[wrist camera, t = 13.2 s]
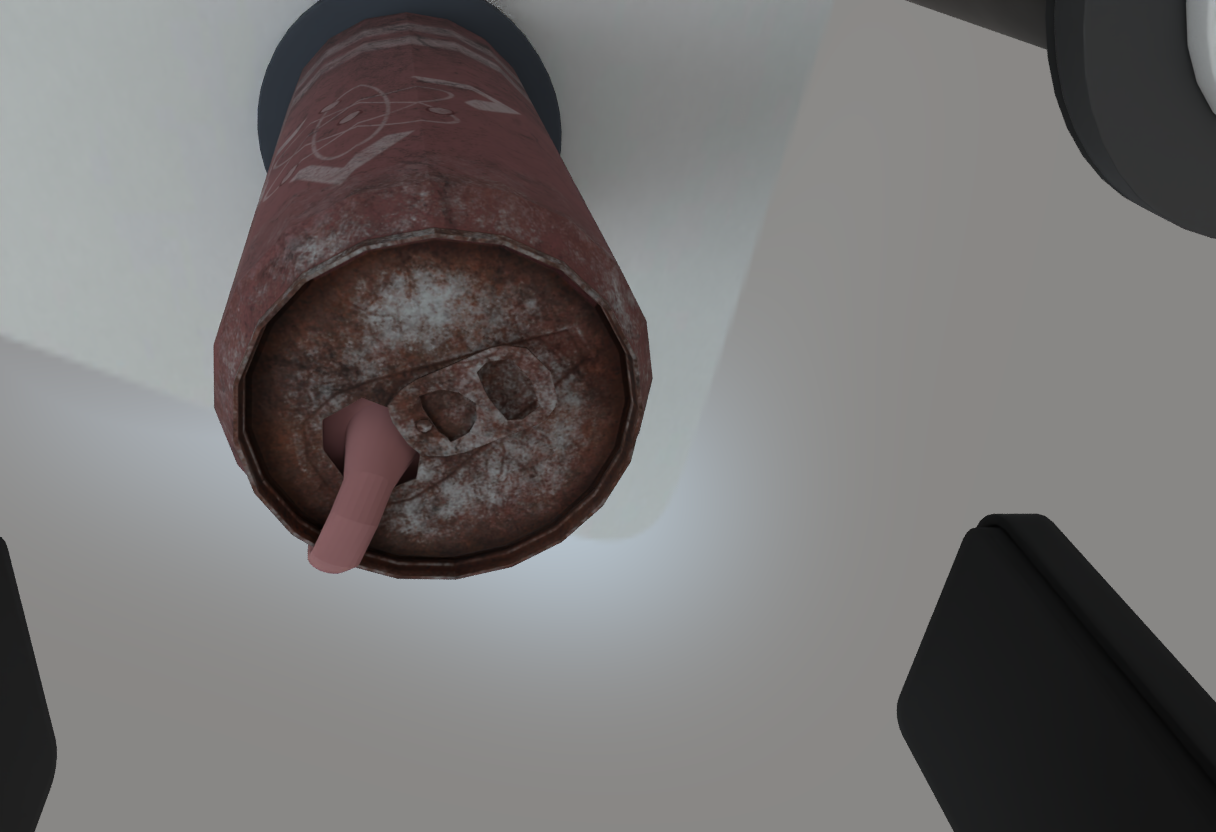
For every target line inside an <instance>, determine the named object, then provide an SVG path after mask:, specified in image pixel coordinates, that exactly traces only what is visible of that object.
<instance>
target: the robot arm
mask: <svg viewBox="0 0 1216 832" xmlns="http://www.w3.org/2000/svg"><path fill="white" fill-rule="evenodd" d="M1186 17H1187V42H1188V49H1189V53H1190V57H1191V61H1192V65H1193V69H1194V73H1195V77H1196V81H1197V84H1198V86H1199V87H1200V89H1201V91H1202V93H1203V95H1204V97H1205V99H1206V100H1207V102H1208V104H1209V106H1210V108H1211V110H1212V112H1213V113H1214V114H1215V115H1216V0H1186ZM897 719H898V724H899V728H900V730H901V733H902V735H903V737H904V739H905V741H906V743H907V745H908V746H909V748H910V750H911V752H912V754H913V756H914V758H915V760H916V761H917V763H918V765H919V767H920V769H921V771H922V773H923V774H924V776H925V778H926V780H927V782H928V784H929V786H930V788H931V790H932V791H933V793H934V795H935V797H936V799H937V801H938V803H939V804H940V806H941V808H942V810H943V812H944V814H945V816H946V818H947V819H948V822H949V823H950V825H951V827H952V829H953V831H954V832H1216V702H1215V701H1214V700H1213V699H1212V698H1211V697H1210V695H1209V694H1208V693H1207V692H1206V691H1205V690H1204V689H1203V688H1202V687H1201V686H1200V685H1199V683H1198V682H1197V681H1196V680H1195V679H1194V678H1193V677H1192V676H1191V674H1190V673H1188V671H1187V670H1186V669H1185V668H1184V667H1183V666H1182V665H1181V663H1180V662H1179V661H1178V660H1177V659H1176V658H1175V657H1174V656H1173V655H1172V653H1171V652H1170V651H1169V650H1168V649H1167V648H1166V647H1165V646H1164V645H1163V644H1162V642H1161V641H1160V640H1159V639H1158V638H1157V637H1156V636H1155V635H1154V634H1153V633H1152V632H1151V630H1150V629H1149V628H1148V627H1147V626H1146V625H1145V624H1144V623H1143V621H1142V620H1141V619H1140V618H1139V617H1138V616H1137V615H1136V614H1135V613H1134V612H1133V610H1132V609H1131V608H1130V607H1129V606H1128V605H1127V604H1126V603H1125V601H1124V600H1123V599H1122V598H1121V597H1120V596H1119V595H1118V594H1117V593H1116V592H1115V591H1114V589H1113V588H1112V587H1111V586H1110V585H1109V584H1108V583H1107V582H1106V580H1105V579H1103V577H1102V576H1101V575H1100V574H1099V573H1098V572H1097V571H1096V569H1094V567H1093V566H1092V565H1091V564H1090V563H1089V562H1088V561H1087V560H1086V558H1085V557H1084V556H1083V555H1082V554H1081V553H1080V552H1079V551H1078V550H1077V548H1076V547H1075V546H1074V545H1073V544H1072V543H1071V542H1070V541H1069V540H1068V538H1067V537H1066V536H1065V535H1064V534H1063V533H1062V532H1061V531H1060V530H1059V529H1058V527H1057V526H1056V525H1055V524H1054V523H1053V522H1052V521H1050V519H1048V518H1047V517H1046V516H1043V515H1039V514H991V515H987V516H985V517H984V518H983V519H982V520H981V521H980V522H979V524H978V526H977V527H976V528H972V529H970V530H969V531H968V532H967V534H966V535H965V537H964V538H963V541H962V543H961V546H960V548H959V551H958V553H957V556H956V558H955V561H954V563H953V565H952V568H951V571H950V573H949V576H948V578H947V580H946V583H945V585H944V588H943V590H942V593H941V595H940V598H939V600H938V602H937V605H936V607H935V610H934V612H933V615H932V617H931V620H930V622H929V625H928V627H927V629H926V632H925V634H924V637H923V639H922V642H921V644H920V647H919V649H918V652H917V654H916V657H915V659H914V662H913V664H912V666H911V669H910V671H909V674H908V676H907V679H906V681H905V684H904V686H903V689H902V691H901V694H900V696H899V699H898V703H897ZM56 760H57V746H56V740H55V736H54V731H53V727H52V723H51V720H50V716H49V712H48V708H47V704H46V699H45V695H44V692H43V688H42V683H41V680H40V675H39V671H38V668H37V664H36V659H35V655H34V651H33V647H32V643H31V640H30V635H29V631H28V627H27V623H26V619H25V615H24V611H23V608H22V604H21V600H20V595H19V592H18V587H17V584H16V579H15V576H14V572H13V568H12V564H11V559H10V556H9V551H8V548H7V545H6V543H5V541H4V540H3V539H2V537H0V832H34V831H35V829H36V826H37V823H38V821H39V818H40V815H41V812H42V810H43V807H44V804H45V802H46V799H47V796H48V794H49V791H50V788H51V785H52V782H53V778H54V774H55V769H56Z"/></svg>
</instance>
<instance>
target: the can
mask: <svg viewBox="0 0 1216 832" xmlns="http://www.w3.org/2000/svg"><path fill="white" fill-rule="evenodd" d="M651 383H652V369H651V360H650V350H649V341H648V331H647V322H646V319H645V317H644V315H643V313H642V311H641V309H640V307H639V305H638V303H637V301H636V299H635V297H634V295H633V293H632V291H631V289H630V287H629V285H628V283H627V281H626V279H625V277H624V275H623V273H622V271H621V269H620V267H619V265H618V263H617V261H616V260H615V258H614V256H613V254H612V252H611V250H610V248H609V246H608V245H607V243H606V241H605V239H604V237H603V235H602V233H601V232H600V230H599V228H598V226H597V224H596V222H595V220H594V218H593V217H592V215H591V213H590V211H589V209H588V207H587V205H586V203H585V202H584V200H583V198H582V196H581V194H580V192H579V190H578V188H577V187H576V185H575V183H574V181H573V179H572V177H571V175H570V173H569V172H568V170H567V168H566V166H565V164H564V162H563V160H562V158H561V157H560V155H559V153H558V151H557V149H556V147H555V145H554V143H553V142H552V140H551V138H550V136H549V134H548V132H547V130H546V128H545V127H544V125H543V123H542V121H541V119H540V117H539V115H538V113H537V112H536V110H535V108H534V106H533V104H532V102H531V100H530V99H529V97H528V95H527V93H526V91H525V89H524V87H523V85H522V84H521V82H520V80H519V78H518V76H517V74H516V72H515V70H514V69H513V67H512V66H511V65H510V64H509V63H508V62H507V61H506V60H505V59H504V58H503V57H502V56H501V55H500V54H499V53H498V52H497V51H496V50H495V49H494V48H493V47H492V46H491V45H490V44H489V43H488V42H487V41H486V40H485V39H484V38H482V37H480V36H478V35H476V34H474V33H473V32H471V31H469V30H467V29H465V28H463V27H461V26H459V25H457V24H456V23H454V22H452V21H450V20H448V19H443V18H437V17H431V16H425V15H419V14H413V13H408V12H405V13H399V14H393V15H386V16H380V17H374V18H368V19H364V20H362V21H361V22H359V23H357V24H355V25H353V26H351V27H350V28H348V29H346V30H344V31H342V32H341V33H339V34H337V35H335V36H333V37H331V38H330V39H329V40H328V41H327V42H326V43H325V44H324V45H323V46H322V48H321V49H320V50H319V51H318V52H317V53H316V54H315V56H314V57H313V58H312V59H311V60H310V61H309V63H308V64H307V65H306V66H305V67H304V68H303V70H302V72H301V75H300V77H299V80H298V83H297V85H296V88H295V90H294V93H293V96H292V98H291V101H290V104H289V106H288V109H287V112H286V116H285V119H284V122H283V125H282V128H281V132H280V135H279V138H278V141H277V144H276V148H275V151H274V154H273V157H272V160H271V164H270V167H269V170H268V173H267V176H266V180H265V183H264V186H263V189H262V192H261V195H260V199H259V202H258V205H257V208H256V211H255V215H254V218H253V221H252V224H251V227H250V231H249V234H248V237H247V240H246V243H245V247H244V250H243V253H242V256H241V259H240V263H239V266H238V269H237V272H236V275H235V279H234V282H233V285H232V288H231V291H230V294H229V298H228V301H227V304H226V307H225V310H224V314H223V317H222V320H221V323H220V326H219V330H218V333H217V336H216V339H215V342H214V408H215V411H216V413H217V416H218V418H219V421H220V423H221V425H222V428H223V430H224V432H225V435H226V437H227V440H228V442H229V445H230V447H231V450H232V452H233V455H234V457H235V460H236V462H237V464H238V465H239V467H240V468H241V469H242V470H243V471H244V472H245V473H246V475H247V476H248V479H249V481H250V484H251V486H252V489H253V491H254V493H255V494H256V495H257V497H258V498H259V499H260V500H261V501H262V502H263V503H264V504H265V505H266V507H267V508H268V509H269V510H270V511H271V512H272V513H273V514H274V515H275V516H276V517H277V519H278V520H279V521H280V522H281V523H282V524H283V525H284V526H285V528H286V529H287V530H288V531H289V532H290V533H291V534H292V535H293V536H295V537H297V538H298V539H300V540H302V541H304V542H305V543H307V544H308V560H309V562H310V564H311V565H312V566H313V567H315V568H316V569H318V570H320V571H323V572H326V573H333V574H338V573H342V572H345V571H347V570H350V569H352V568H355V567H356V568H360V569H363V570H367V571H371V572H375V573H378V574H382V575H386V576H390V577H394V578H397V579H455V580H456V579H460V578H465V577H469V576H474V575H478V574H482V573H487V572H491V571H495V570H500V569H505V568H509V567H512V566H514V565H517V564H519V563H521V562H523V561H525V560H527V559H529V558H531V557H532V556H534V555H537V554H539V553H541V552H543V551H545V550H546V549H549V548H550V547H553V546H555V545H556V544H559V543H561V542H562V541H563V540H565V539H566V538H567V537H568V536H569V535H570V534H571V533H573V532H574V531H575V530H576V529H577V528H578V527H579V526H581V525H582V524H583V523H584V522H585V521H586V520H587V519H589V518H590V517H591V516H592V515H593V514H594V513H595V512H597V511H598V510H599V509H600V508H601V507H602V506H603V505H604V503H605V502H606V500H607V499H608V497H609V495H610V494H611V492H612V491H613V489H614V487H615V486H616V484H617V483H618V481H619V480H620V478H621V476H622V475H623V473H624V472H625V470H626V468H627V467H628V465H629V464H630V462H631V459H632V455H633V451H634V447H635V443H636V439H637V436H638V434H639V431H640V427H641V423H642V419H643V415H644V411H645V407H646V403H647V399H648V395H649V391H650V387H651Z"/></svg>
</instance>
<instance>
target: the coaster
mask: <svg viewBox="0 0 1216 832" xmlns="http://www.w3.org/2000/svg"><path fill="white" fill-rule="evenodd" d="M405 12H408V13H413V14H419V15H425V16H431V17H437V18H443V19H448V20H450V21H452V22H454V23H456V24H457V25H459V26H461V27H463V28H465V29H467V30H469V31H471V32H473V33H474V34H476V35H478V36H480V37H482V38H484V39H485V40H486V41H487V42H488V43H489V44H490V45H491V46H492V47H493V48H494V49H495V50H496V51H497V52H498V53H499V54H500V55H501V56H502V57H503V58H504V59H505V60H506V61H507V62H508V63H509V64H510V65H511V66H512V67H513V69H514V70H515V72H516V74H517V76H518V78H519V80H520V82H521V84H522V85H523V87H524V89H525V91H526V93H527V95H528V97H529V99H530V100H531V102H532V104H533V106H534V108H535V110H536V112H537V113H538V115H539V117H540V119H541V121H542V123H543V125H544V127H545V128H546V130H547V132H548V134H549V136H550V138H551V140H552V142H553V143H554V145H555V147H556V149H557V151H558V153H559V155H560V152H561V121H560V112H559V107H558V103H557V98H556V94H555V91H554V88H553V85H552V83H551V80H550V77H549V75H548V73H547V71H546V69H545V67H544V65H543V63H542V61H541V59H540V57H539V56H538V54H537V53H536V51H535V50H534V48H533V47H532V45H531V44H530V42H529V41H528V40H527V38H526V37H525V35H524V34H523V33H522V32H521V31H520V30H519V29H518V28H517V27H516V25H515V24H514V23H513V22H512V21H511V20H510V19H509V18H507V17H506V16H505V15H504V14H503V13H502V12H501V11H499V10H498V9H497V8H496V7H494V6H493V5H491V4H490V3H488V2H487V1H485V0H319V1H318V2H317V3H315V4H314V5H313V6H312V7H310V8H309V9H308V10H307V11H306V12H304V13H303V14H302V15H301V16H300V17H299V18H298V19H297V21H296V22H295V23H294V24H293V25H292V26H291V27H290V28H289V29H288V31H287V32H286V34H285V35H284V37H283V38H282V40H281V42H280V43H279V45H278V46H277V48H276V50H275V52H274V54H273V57H272V59H271V61H270V63H269V65H268V67H267V70H266V73H265V76H264V80H263V83H262V86H261V91H260V97H259V104H258V136H259V144H260V151H261V154H262V158H263V162H264V166H265V169H266V172H267V173H268V170H269V167H270V164H271V160H272V157H273V154H274V151H275V148H276V144H277V141H278V138H279V135H280V132H281V128H282V125H283V122H284V119H285V116H286V112H287V109H288V106H289V104H290V101H291V98H292V96H293V93H294V90H295V88H296V85H297V83H298V80H299V77H300V75H301V72H302V70H303V68H304V67H305V66H306V65H307V64H308V63H309V61H310V60H311V59H312V58H313V57H314V56H315V54H316V53H317V52H318V51H319V50H320V49H321V48H322V46H323V45H324V44H325V43H326V42H327V41H328V40H329V39H330V38H331V37H333V36H335V35H337V34H339V33H341V32H342V31H344V30H346V29H348V28H350V27H351V26H353V25H355V24H357V23H359V22H361V21H362V20H364V19H368V18H374V17H380V16H386V15H393V14H399V13H405Z"/></svg>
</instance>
